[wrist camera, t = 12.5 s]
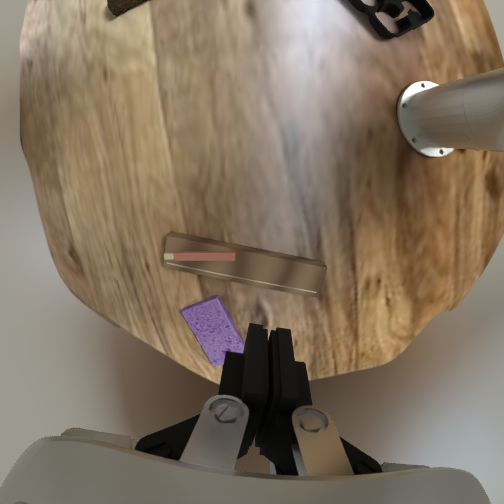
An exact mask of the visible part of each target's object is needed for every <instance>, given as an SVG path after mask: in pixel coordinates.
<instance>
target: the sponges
mask: <svg viewBox="0 0 504 504" xmlns="http://www.w3.org/2000/svg"><path fill="white" fill-rule="evenodd" d="M181 313H182V314H183V316H184V318H185V320H186V321H187V323H188V324H189V326H190V328H191V329H192V331H193V333H194V334H195V336H196V338H197V339H198V341H199V343H200V344H201V345H202V348H203V349H204V351H205V353H206V355H207V356H208V358H209V360H210V361H211V363H212V364H213V366H214V367H216V366H219V365H222V364H224V359H225V353H226V351H232V352H237V353H243V351H244V346H245V344H244V342H243V340H242V339H241V337H240V335H239V333H238V332H237V329H236V327H235V326H234V324H233V322H232V320H231V318H230V316H229V314H228V312H227V310H226V308H225V306H224V304H223V302H222V300H221V298H220V297H218V296H212V297H210V298H208V299H205V300H203V301H200V302H198V303H197V304H193V305H191V306H188V307H185V308H183V309H182V312H181Z"/></svg>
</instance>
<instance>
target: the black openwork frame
mask: <svg viewBox="0 0 504 504" xmlns="http://www.w3.org/2000/svg"><path fill="white" fill-rule="evenodd" d="M377 1H378V4H379V5H378V6H368V5H366V4H364V3H363V2H362V1H361V0H349V2H350V3H351V4H352V5H353V6H354V7H355V8H356V9H357V10H359V11H360V12H364V13H366V12H367V13H368V14H369V15H370V18H369V22H370V24H371V25H372V27H373V28H374V29H375V30H376V32H377V33H378V34H379V35H380V36H381V37H383V38H388V39H390V38H392V37H399V36H401V35H403V34H405V33H406V32H408V31H410V30H412V29H413V30H414V29H416V28H417V27H419V26H421V25H423V24H425V23H427V22H428V21H429V20H431V19H432V18H433V17H434V10H433V8H432V7H431V6H430V5H429V3H428V2H427V1H426V0H377ZM403 1H408V2H410V3H412V4H413V5H414V6H415V7H416V8H417V9H418V10H419V12H420V13H421V15H422V16H421V15H420V14H419V13H418V12H415V11H412V10H411V9H410V10H409V11H408V14H409V15H407V16H405V17H404V18H402V19H400V20H398V21H397V24H398V25H399V26H400V28H401V31H400V32H399V33H398V34H394V33H391V32H390V31H388V30H387V28H386V27H385V26H384V25H383V24H382V23H381V22H380V21H379V19H378V18H377V17H376V15H375V12H377V13H379V12H387V13H388V14H390V15H391V17H393V18H396V17H398V16H399V15H400V13H401V12H402V11H403V10H404V6H403V5H402V3H401V2H403ZM412 7H413V6H412Z"/></svg>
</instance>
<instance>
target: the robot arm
mask: <svg viewBox="0 0 504 504" xmlns="http://www.w3.org/2000/svg"><path fill="white" fill-rule="evenodd" d="M402 105H403V107H402ZM397 117H398V123H399V126H400V129H401V131H402V134H403V136H404V137H405V139H406V140H407V142H408V143H409V144H410V145H411V146H412V148H414V149H415V150H416V151H417V152H419V153H421V154H423V155H425V156H429V157H442V156H445V155H447V154H449V153H451V152H452V151H453V150H454V149H455V148H457V149H473V150H476V151H479V150H486V151H497V152H504V67H502V68H499V69H496V70H493V71H489V72H486V73H482V74H478V75H474V76H470V77H467V78H463V79H459V80H456V81H452V82H449V83H445V84H442V85H438V84H436V83H433V82H429V81H419V82H416V83H413V84H411V85H409V86H408V87H407V88H406V89H405V90H404V91H403V92H402V94H401V96H400V98H399V101H398V106H397ZM412 139H413V142H412ZM439 151H440V152H439ZM254 437H255V447H260V455H264V456H265V457H267V458H268V459H269V460H270V461H271V462H270V470H271V474H261V473H250V472H241V471H234V470H233V469H234V466H235V463H236V460H237V459H239V458H240V457H242V456H244V455H246V454H247V452H248V449H249V446H251V445H252V443H253V440H254ZM0 504H491V502H490V500H489V498H488V496H487V494H486V492H485V490H484V488H483V487H482V485H481V483H480V482H479V481H478V479H477V478H476V477H475V476H474V475H473V474H471V473H469V472H467V471H464V470H461V469H454V468H444V467H435V468H430V467H428V466H423V465H407V464H396V463H386V462H384V463H383V464H382V465H380V464H379V463H378V462H377V461H376V460H374V459H373V458H371V457H370V456H368V455H367V454H365V453H364V452H362V451H360V450H359V449H357V448H356V447H354V446H353V445H351V444H350V443H348V442H347V441H345V440H344V439H342V438H341V437H340V436H339V435H338V433H337V430H336V428H335V425H334V423H333V420H332V418H331V416H330V415H329V414H328V413H327V412H326V411H325V410H323V409H321V408H319V407H316V406H312V400H311V394H310V388H309V381H308V376H307V370H306V365H305V363H304V362H298V361H295V359H294V351H293V344H292V336H291V330H290V329H284V328H278V327H277V328H276V331H275V330H271V332H270V336H269V340H268V330H267V329H263V325H259V324H253V323H249V327H248V332H247V337H246V341H245V346H244V351H243V353H237V352H232V351H226V353H225V359H224V365H223V370H222V376H221V381H220V387H219V393H218V396H215V397H212V398H211V399H209V400H208V401H207V402H206V404H205V406H204V408H203V410H202V412H201V414H199V415H197V416H195V417H192V418H190V419H188V420H185V421H183V422H180V423H179V424H176V425H173V426H171V427H168V428H166V429H163V430H160V431H158V432H155V433H153V434H150V435H147V436H145V437H143V438H141V439H131V436H127V435H119V434H112V433H105V432H99V431H93V430H87V429H82V428H70V429H67V430H66V431H64V432H63V433H62V434H61V436H50V437H44V438H41V439H39V440H37V441H35V442H34V443H32V444H31V445H30V446H29V447H28V448H27V449H26V450H25V451H24V452H23V453H22V455H21V456H20V457H19V459H18V460H17V461H16V463H15V464H14V466H13V467H12V469H11V470H10V472H9V473H8V475H7V477H6V479H5V480H4V482H3V484H2V486H1V487H0Z"/></svg>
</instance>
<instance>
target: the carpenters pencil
mask: <svg viewBox="0 0 504 504" xmlns="http://www.w3.org/2000/svg"><path fill="white" fill-rule="evenodd" d="M164 260H174V261H235V251H174V252H165V253H164Z"/></svg>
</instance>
